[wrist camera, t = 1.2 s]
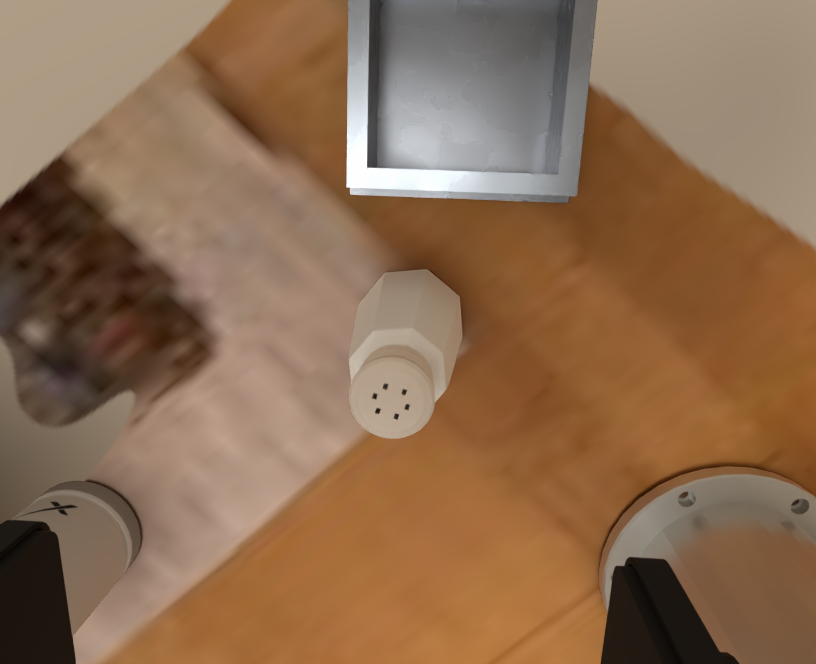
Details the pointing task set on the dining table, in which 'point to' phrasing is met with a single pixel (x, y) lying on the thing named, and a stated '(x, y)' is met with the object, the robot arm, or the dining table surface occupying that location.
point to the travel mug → (87, 540)
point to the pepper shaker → (403, 352)
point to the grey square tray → (468, 97)
